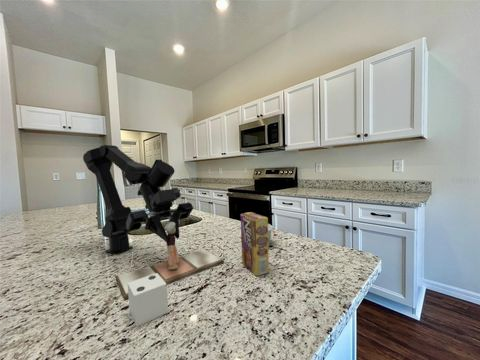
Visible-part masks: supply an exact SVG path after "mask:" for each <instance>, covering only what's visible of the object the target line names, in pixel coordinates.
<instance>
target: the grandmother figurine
mask: <svg viewBox="0 0 480 360" xmlns="http://www.w3.org/2000/svg"><path fill="white" fill-rule="evenodd" d="M163 227H164V230H165V232H166V234H167V236H168V239H169V240H168V242H166V241H165V243H166V249H167V255H168V257H167V261H168V263H167V266H169V267H168V269H177V268H178V265H177V263H178V262H179V258H178V257H179V253H178V249H177V246H176V237H175V236H174V233H175V231H176V228H175V223H174V222H169V221H168V222H167V223H166V224H165V225H164V226H163Z"/></svg>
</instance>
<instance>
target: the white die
mask: <svg viewBox="0 0 480 360" xmlns="http://www.w3.org/2000/svg"><path fill="white" fill-rule="evenodd" d="M127 284H128V297H129V299H128V306H129V307H128V308H129V313H130V315H131V317H132V320H133V322H134V324H135V327H139V326H142V325H143V324H146V323H147V322H150V321H152V320H155V319H157V318H160V317H161V316H164V315H165V314H168V313H169V302H168V301H169V299H168V289H167V287H168V286H167V285H168V284H166V283H165V282H164V280H163V279H162V278H161V277H160V276H159V275H158V273H155V274H152V275H149V276H146V277H143V278H140V279H137V280H134V281H131V282H128V283H127Z"/></svg>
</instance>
